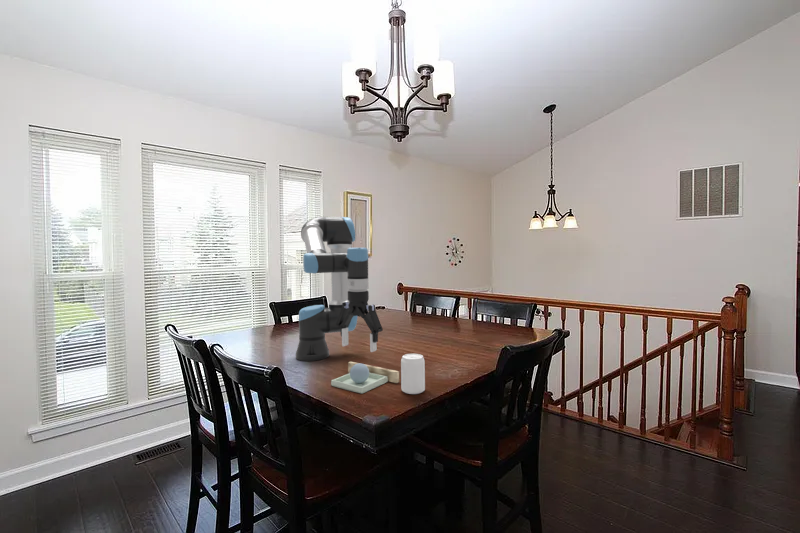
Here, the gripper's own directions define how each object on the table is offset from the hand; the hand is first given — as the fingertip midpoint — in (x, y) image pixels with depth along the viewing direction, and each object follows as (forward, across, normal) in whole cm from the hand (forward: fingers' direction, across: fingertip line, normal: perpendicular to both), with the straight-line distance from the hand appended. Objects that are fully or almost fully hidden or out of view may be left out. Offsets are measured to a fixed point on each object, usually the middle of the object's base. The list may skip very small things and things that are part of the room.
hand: (358, 348), depth 141 cm
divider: (+13, 0, +8) cm, 15 cm away
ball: (+12, +1, 0) cm, 13 cm away
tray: (+13, +1, 0) cm, 13 cm away
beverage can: (+13, +21, +4) cm, 25 cm away
